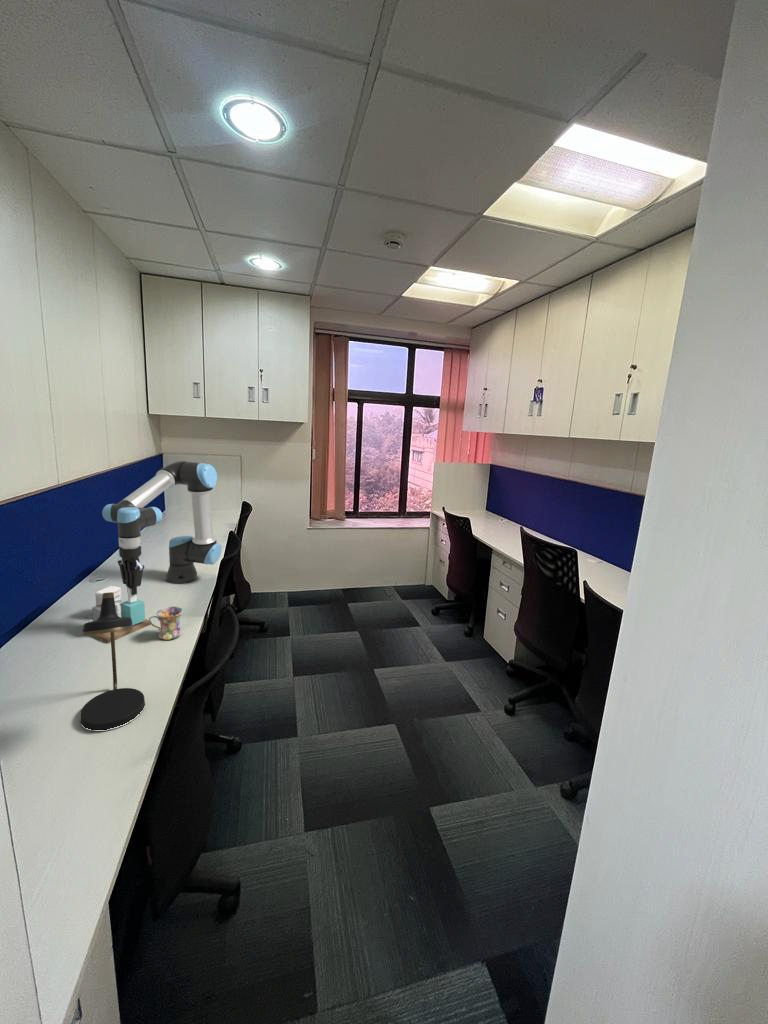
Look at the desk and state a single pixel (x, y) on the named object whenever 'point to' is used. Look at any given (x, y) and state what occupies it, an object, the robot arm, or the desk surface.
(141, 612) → the teal foam cube
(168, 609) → the mug
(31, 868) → the desk surface
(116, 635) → the stand
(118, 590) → the ink box
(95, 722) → the lamp
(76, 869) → the desk surface
